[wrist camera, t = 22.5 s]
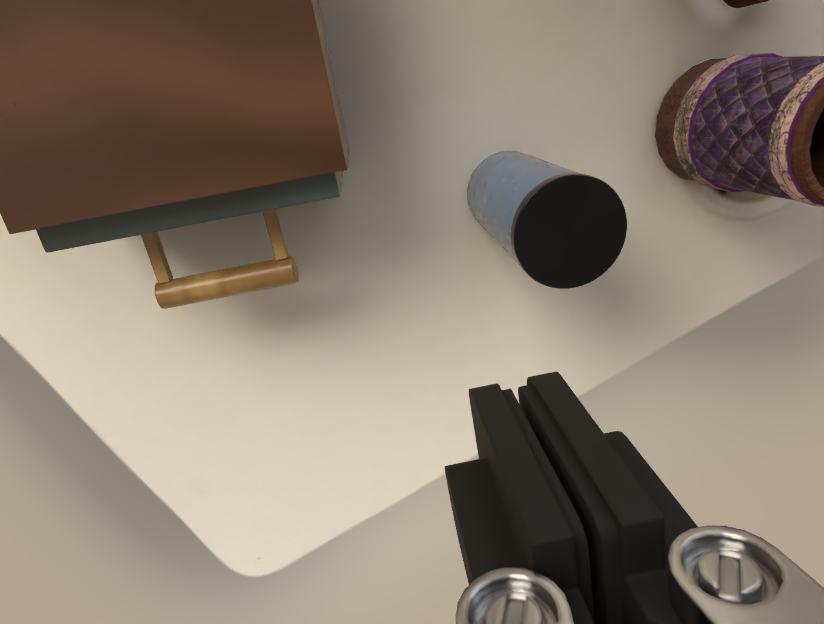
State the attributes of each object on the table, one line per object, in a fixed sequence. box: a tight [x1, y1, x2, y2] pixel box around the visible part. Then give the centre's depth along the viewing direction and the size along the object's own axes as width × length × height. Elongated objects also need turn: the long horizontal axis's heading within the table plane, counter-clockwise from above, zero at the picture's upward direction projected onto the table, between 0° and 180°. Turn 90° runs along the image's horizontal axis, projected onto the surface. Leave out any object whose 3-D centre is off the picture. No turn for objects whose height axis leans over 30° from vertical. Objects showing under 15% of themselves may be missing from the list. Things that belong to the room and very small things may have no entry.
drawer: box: [36, 171, 343, 309], centre depth 27 cm, size 19×13×7 cm
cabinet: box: [0, 0, 349, 234], centre depth 26 cm, size 16×15×9 cm
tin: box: [467, 151, 627, 289], centre depth 29 cm, size 5×5×11 cm
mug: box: [655, 53, 824, 207], centre depth 28 cm, size 10×7×12 cm
